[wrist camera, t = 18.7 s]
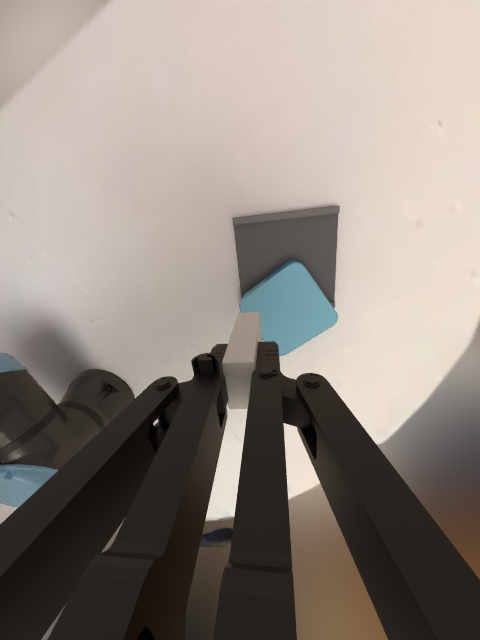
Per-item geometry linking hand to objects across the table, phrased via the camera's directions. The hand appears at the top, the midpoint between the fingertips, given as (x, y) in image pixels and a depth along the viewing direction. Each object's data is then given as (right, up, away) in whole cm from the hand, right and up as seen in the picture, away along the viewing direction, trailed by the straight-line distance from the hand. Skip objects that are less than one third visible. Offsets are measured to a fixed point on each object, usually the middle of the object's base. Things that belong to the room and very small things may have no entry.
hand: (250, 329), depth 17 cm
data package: (+3, +7, +21) cm, 23 cm away
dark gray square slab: (+7, +10, +24) cm, 27 cm away
